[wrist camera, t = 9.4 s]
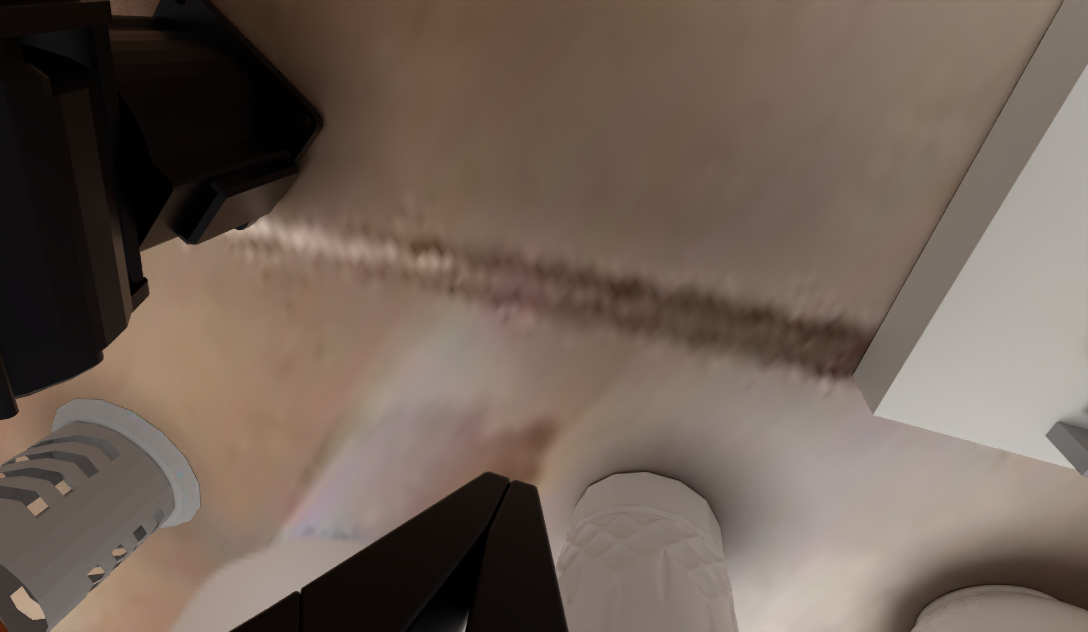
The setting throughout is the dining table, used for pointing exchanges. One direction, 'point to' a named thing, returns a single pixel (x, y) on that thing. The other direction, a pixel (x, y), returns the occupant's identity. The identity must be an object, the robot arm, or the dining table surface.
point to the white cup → (644, 560)
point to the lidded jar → (1000, 612)
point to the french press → (85, 506)
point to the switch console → (1004, 279)
